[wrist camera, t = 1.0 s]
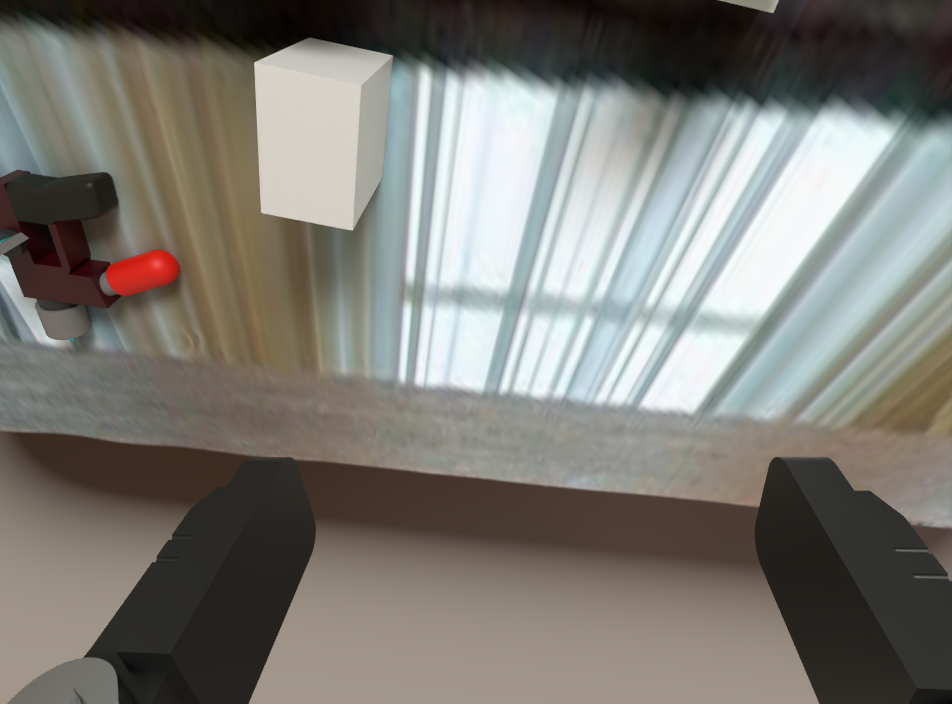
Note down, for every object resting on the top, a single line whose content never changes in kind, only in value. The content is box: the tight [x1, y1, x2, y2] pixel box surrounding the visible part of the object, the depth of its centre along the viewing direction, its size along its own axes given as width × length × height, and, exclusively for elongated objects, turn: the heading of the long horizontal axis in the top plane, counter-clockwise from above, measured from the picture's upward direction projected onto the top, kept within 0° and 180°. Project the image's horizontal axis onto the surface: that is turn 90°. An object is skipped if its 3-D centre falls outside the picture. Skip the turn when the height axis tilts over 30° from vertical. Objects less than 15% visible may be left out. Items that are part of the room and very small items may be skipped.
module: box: [254, 37, 393, 231], centre depth 25 cm, size 4×6×7 cm, turn 169°
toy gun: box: [0, 170, 179, 342], centre depth 32 cm, size 10×12×5 cm
